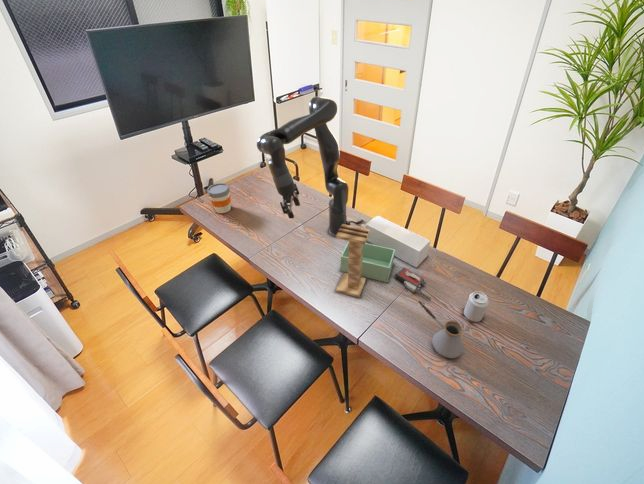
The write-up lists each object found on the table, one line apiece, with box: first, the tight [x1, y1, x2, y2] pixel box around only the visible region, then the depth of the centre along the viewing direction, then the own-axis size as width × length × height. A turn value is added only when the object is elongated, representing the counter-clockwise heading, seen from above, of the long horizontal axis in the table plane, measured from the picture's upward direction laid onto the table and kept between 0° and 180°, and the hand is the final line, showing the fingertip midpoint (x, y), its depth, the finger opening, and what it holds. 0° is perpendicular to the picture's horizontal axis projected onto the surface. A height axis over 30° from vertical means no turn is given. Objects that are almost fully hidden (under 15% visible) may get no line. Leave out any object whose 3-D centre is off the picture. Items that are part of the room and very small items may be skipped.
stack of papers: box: [364, 215, 431, 268], centre depth 170 cm, size 32×11×11 cm, turn 49°
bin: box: [340, 240, 395, 283], centre depth 159 cm, size 23×13×10 cm, turn 71°
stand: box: [335, 224, 370, 298], centre depth 142 cm, size 12×11×33 cm
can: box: [463, 290, 490, 323], centre depth 135 cm, size 8×8×12 cm
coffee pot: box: [416, 300, 464, 359], centre depth 125 cm, size 21×12×15 cm, turn 45°
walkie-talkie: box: [394, 267, 432, 301], centre depth 151 cm, size 9×4×20 cm
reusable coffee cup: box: [206, 182, 232, 214], centre depth 198 cm, size 13×13×15 cm
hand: (294, 211), depth 144 cm, fingers open, 8 cm apart
